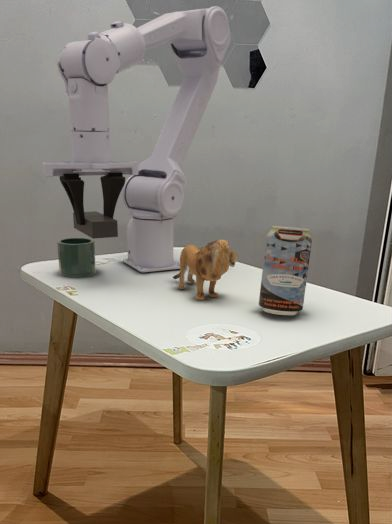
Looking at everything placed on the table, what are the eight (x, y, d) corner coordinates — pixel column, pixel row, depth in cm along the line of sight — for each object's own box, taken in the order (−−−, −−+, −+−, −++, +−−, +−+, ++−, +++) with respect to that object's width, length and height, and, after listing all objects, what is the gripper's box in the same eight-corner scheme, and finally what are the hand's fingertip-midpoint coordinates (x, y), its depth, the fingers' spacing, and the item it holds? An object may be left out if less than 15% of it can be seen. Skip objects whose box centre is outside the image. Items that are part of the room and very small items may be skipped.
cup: (56, 270, 98) (53, 238, 96) (89, 267, 100) (88, 236, 98) (65, 278, 93) (62, 245, 91) (100, 275, 95) (98, 243, 93)
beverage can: (254, 318, 76) (260, 228, 72) (263, 303, 83) (269, 220, 78) (301, 323, 74) (310, 232, 70) (306, 307, 81) (315, 223, 77)
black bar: (73, 227, 93) (72, 212, 92) (97, 226, 95) (96, 211, 94) (92, 238, 85) (92, 221, 84) (118, 236, 87) (117, 220, 86)
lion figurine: (241, 301, 83) (244, 240, 80) (212, 307, 80) (214, 244, 77) (186, 279, 94) (186, 224, 91) (158, 283, 91) (158, 227, 88)
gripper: (48, 131, 78) (55, 230, 83) (145, 132, 84) (146, 224, 89) (36, 130, 84) (43, 223, 89) (128, 131, 90) (130, 217, 95)
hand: (94, 223), depth 89 cm, fingers closed on black bar, 4 cm apart
